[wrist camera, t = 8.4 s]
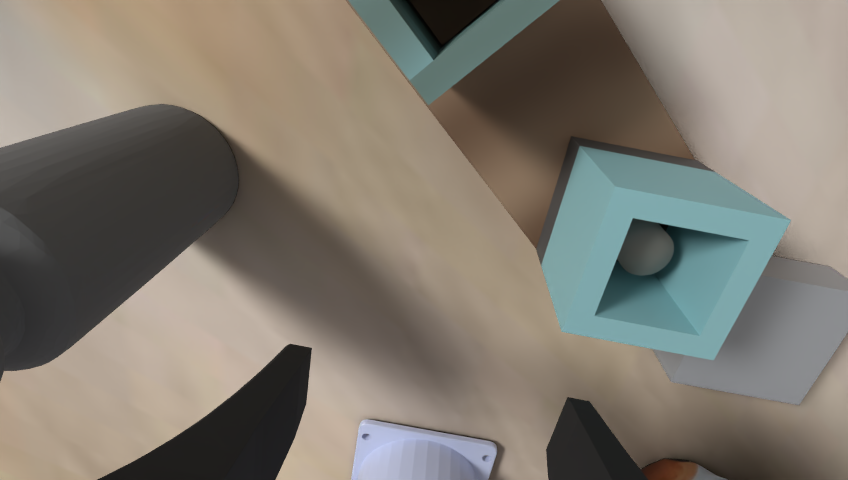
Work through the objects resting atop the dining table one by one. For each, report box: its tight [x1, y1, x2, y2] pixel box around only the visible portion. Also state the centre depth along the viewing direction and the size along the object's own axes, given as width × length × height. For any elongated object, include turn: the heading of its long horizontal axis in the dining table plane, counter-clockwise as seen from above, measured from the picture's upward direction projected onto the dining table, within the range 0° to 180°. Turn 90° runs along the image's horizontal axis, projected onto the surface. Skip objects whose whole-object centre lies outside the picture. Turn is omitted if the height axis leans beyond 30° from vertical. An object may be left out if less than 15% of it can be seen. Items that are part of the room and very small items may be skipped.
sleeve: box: [536, 136, 791, 360], centre depth 17 cm, size 5×5×6 cm
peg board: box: [346, 0, 695, 276], centre depth 16 cm, size 18×7×8 cm, turn 38°
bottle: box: [0, 104, 239, 381], centre depth 15 cm, size 6×6×15 cm
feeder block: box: [653, 256, 848, 405], centre depth 22 cm, size 6×6×2 cm
